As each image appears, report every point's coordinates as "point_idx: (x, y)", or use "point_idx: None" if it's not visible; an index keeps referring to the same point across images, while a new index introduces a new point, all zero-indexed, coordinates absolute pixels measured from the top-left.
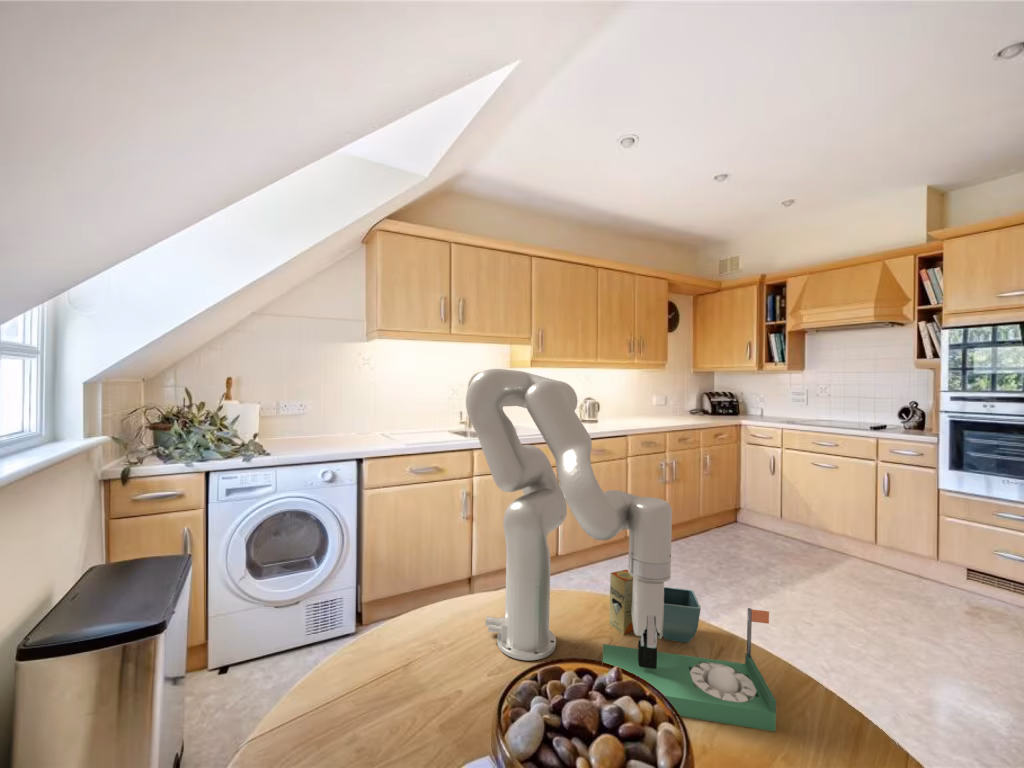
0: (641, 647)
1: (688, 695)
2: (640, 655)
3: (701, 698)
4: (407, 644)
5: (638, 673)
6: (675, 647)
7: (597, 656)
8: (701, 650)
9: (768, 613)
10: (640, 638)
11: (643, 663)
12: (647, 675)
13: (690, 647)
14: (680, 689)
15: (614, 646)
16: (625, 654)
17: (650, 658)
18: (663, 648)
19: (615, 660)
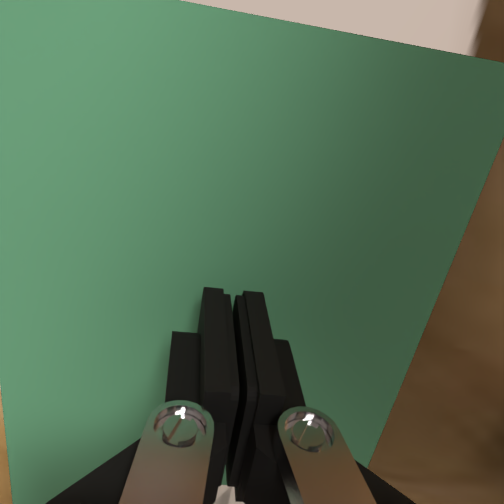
0: (202, 392)
1: (40, 451)
2: (202, 339)
3: (33, 491)
4: None
5: (180, 261)
6: (498, 427)
7: (500, 24)
8: (461, 498)
9: None
10: (277, 426)
11: (200, 323)
12: (168, 307)
13: (486, 472)
14: (76, 431)
15: (484, 156)
16: (382, 217)
17: (165, 396)
18: (501, 385)
19: (314, 133)
